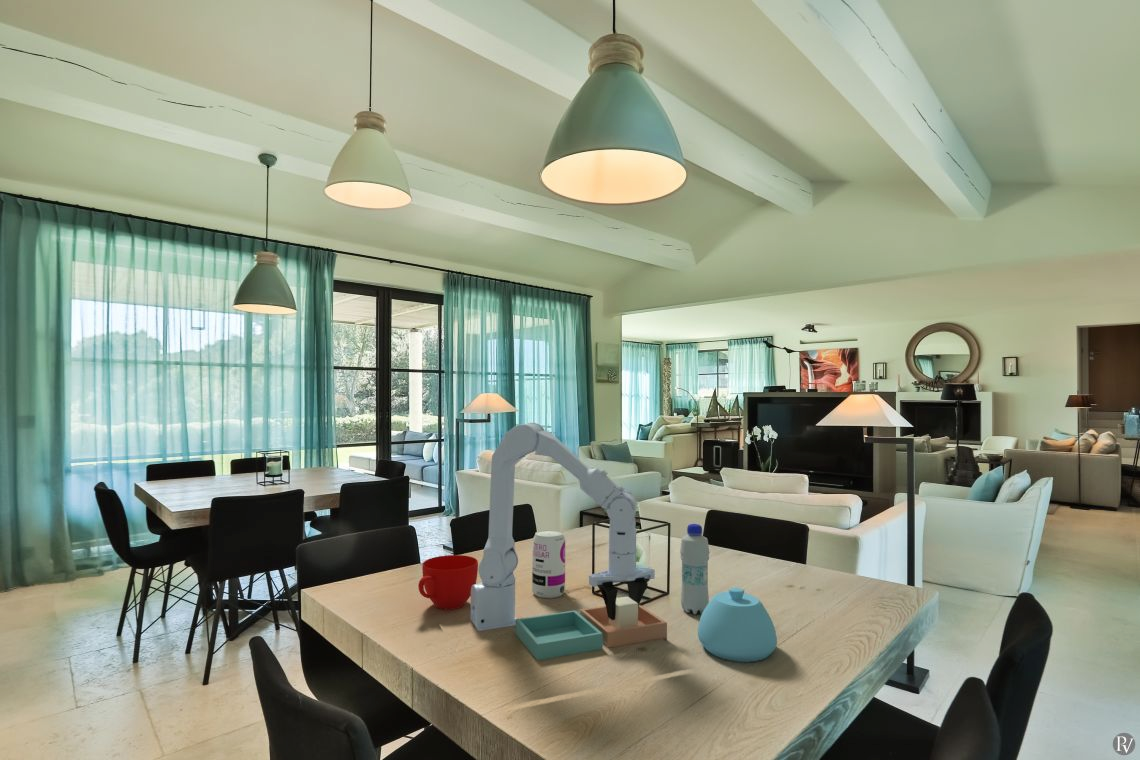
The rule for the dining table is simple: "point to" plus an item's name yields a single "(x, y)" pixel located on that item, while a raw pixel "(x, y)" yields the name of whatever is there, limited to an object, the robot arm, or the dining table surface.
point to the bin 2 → (645, 631)
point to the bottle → (694, 570)
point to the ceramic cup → (448, 580)
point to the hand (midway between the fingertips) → (622, 616)
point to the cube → (625, 613)
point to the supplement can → (548, 564)
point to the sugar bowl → (737, 627)
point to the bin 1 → (558, 634)
